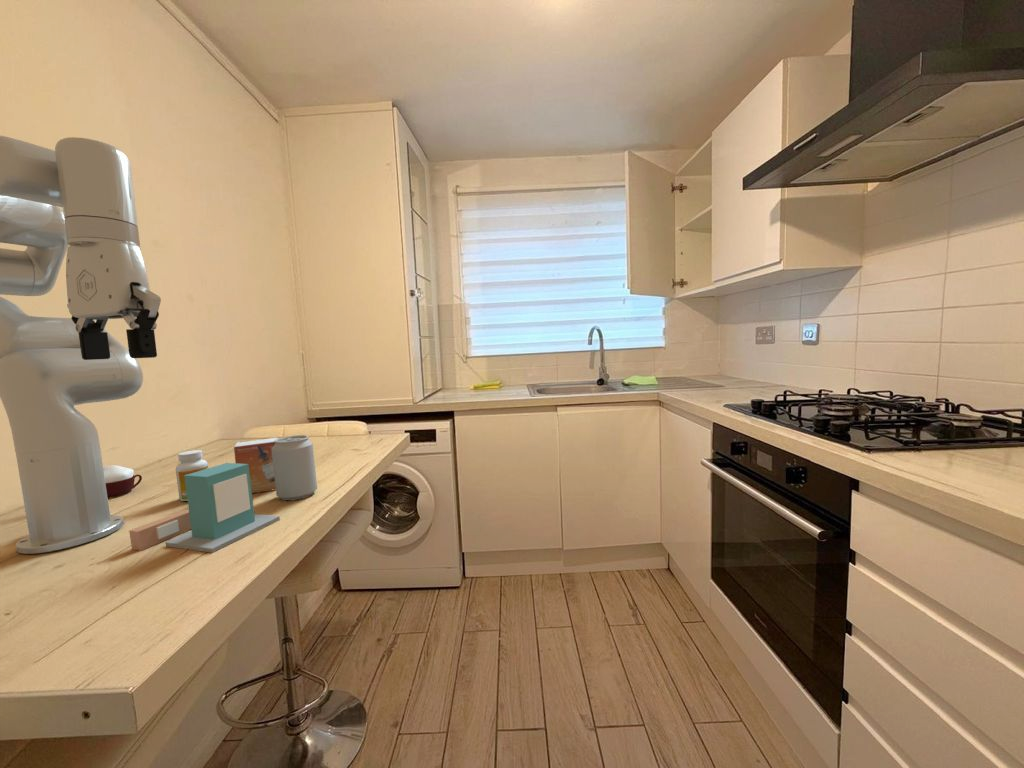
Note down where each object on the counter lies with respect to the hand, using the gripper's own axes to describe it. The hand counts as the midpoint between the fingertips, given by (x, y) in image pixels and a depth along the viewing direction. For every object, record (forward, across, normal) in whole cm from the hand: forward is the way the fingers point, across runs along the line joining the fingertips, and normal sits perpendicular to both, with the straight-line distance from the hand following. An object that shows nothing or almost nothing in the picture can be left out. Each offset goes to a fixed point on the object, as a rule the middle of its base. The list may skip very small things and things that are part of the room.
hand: (119, 358), depth 62 cm
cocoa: (+31, -39, +19) cm, 53 cm away
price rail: (+29, -2, +8) cm, 30 cm away
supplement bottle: (+30, -17, +21) cm, 40 cm away
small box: (+30, -7, +27) cm, 41 cm away
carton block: (+29, +7, +8) cm, 30 cm away
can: (+30, +5, +25) cm, 39 cm away
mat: (+29, +7, +8) cm, 31 cm away
